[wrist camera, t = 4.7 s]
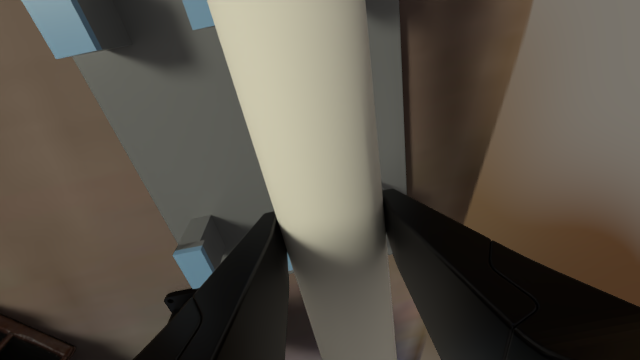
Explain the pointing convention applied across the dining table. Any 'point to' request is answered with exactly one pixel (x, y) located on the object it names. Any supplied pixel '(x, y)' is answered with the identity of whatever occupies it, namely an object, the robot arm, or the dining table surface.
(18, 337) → the letter holder
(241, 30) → the cream cylindrical rod
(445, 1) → the dining table surface
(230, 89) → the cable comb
